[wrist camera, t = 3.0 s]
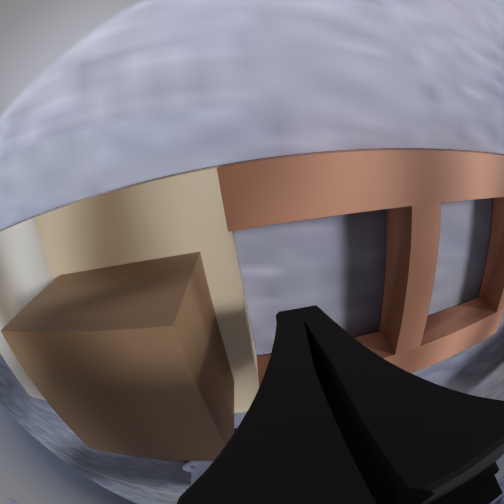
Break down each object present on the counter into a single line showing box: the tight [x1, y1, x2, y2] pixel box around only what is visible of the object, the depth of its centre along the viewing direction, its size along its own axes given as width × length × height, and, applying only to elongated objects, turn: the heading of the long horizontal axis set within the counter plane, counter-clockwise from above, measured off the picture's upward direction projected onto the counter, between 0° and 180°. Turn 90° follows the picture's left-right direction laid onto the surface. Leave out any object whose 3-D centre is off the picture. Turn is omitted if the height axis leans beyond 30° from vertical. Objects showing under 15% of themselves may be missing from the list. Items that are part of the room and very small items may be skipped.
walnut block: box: [1, 252, 234, 461], centre depth 8 cm, size 6×6×4 cm
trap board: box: [0, 148, 504, 413], centre depth 11 cm, size 32×11×2 cm, turn 99°
